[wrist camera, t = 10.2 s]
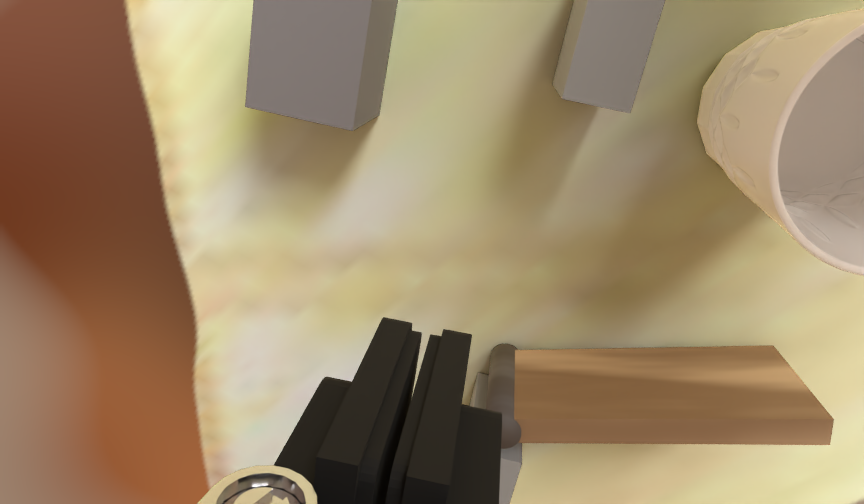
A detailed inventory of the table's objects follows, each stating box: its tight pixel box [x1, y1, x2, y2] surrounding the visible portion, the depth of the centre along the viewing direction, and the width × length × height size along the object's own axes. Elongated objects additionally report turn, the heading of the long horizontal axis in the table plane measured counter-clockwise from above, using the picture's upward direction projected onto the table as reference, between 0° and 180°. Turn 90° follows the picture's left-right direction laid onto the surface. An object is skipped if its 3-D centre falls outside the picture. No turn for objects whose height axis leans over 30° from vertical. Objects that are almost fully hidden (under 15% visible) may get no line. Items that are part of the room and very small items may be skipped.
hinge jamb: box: [469, 373, 522, 504], centre depth 30 cm, size 2×5×6 cm, turn 168°
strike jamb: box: [552, 0, 665, 113], centre depth 23 cm, size 2×5×6 cm, turn 169°
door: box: [486, 344, 834, 449], centre depth 28 cm, size 2×14×6 cm, turn 95°
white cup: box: [697, 9, 864, 276], centre depth 21 cm, size 8×8×10 cm
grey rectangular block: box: [245, 0, 398, 131], centre depth 25 cm, size 4×6×5 cm
